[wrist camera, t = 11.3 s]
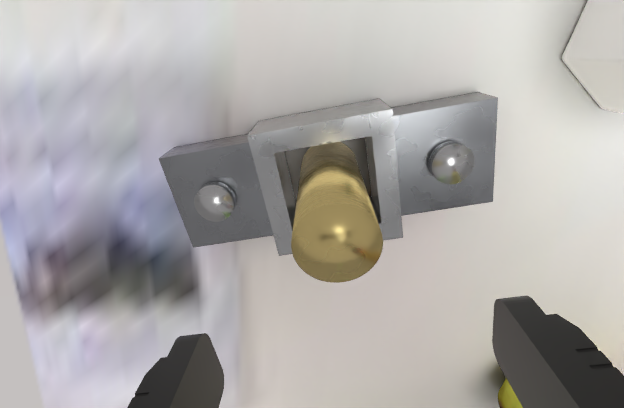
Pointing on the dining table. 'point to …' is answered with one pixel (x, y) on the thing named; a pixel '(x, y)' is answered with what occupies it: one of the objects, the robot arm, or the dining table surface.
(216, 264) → the dining table surface
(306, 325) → the dining table surface
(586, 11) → the jar
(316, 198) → the pin
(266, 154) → the bolt keeper plate
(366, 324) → the dining table surface
